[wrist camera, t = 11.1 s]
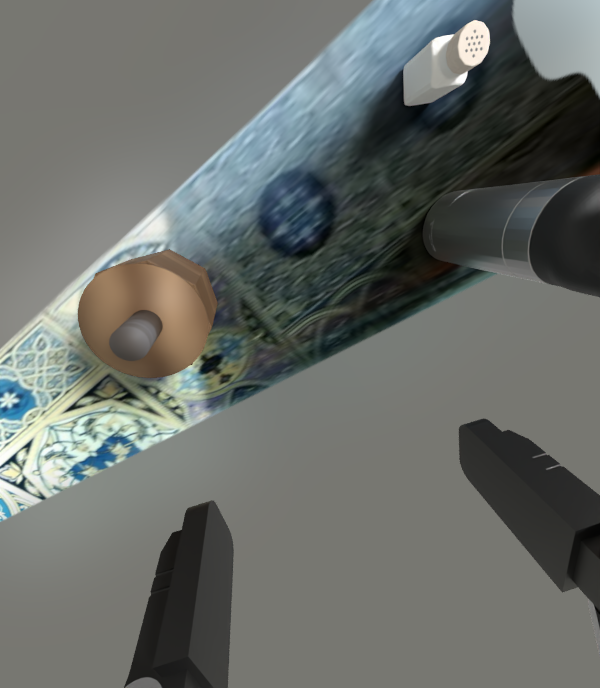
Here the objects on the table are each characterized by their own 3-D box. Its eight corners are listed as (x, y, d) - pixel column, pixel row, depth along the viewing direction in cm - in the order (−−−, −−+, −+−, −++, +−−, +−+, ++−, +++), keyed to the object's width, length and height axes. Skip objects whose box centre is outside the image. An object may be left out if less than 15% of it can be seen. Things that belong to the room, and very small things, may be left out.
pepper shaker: (400, 65, 35) (454, 16, 26) (433, 61, 35) (496, 10, 27) (401, 108, 36) (452, 75, 28) (433, 103, 37) (492, 69, 28)
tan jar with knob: (196, 240, 38) (171, 255, 23) (227, 325, 43) (221, 382, 28) (102, 265, 37) (13, 296, 22) (144, 349, 42) (94, 420, 27)
